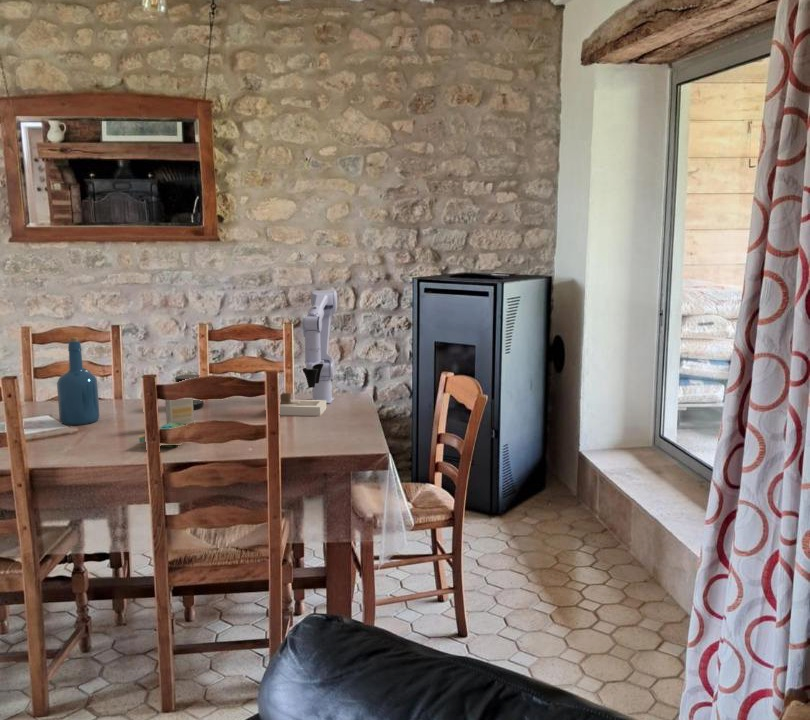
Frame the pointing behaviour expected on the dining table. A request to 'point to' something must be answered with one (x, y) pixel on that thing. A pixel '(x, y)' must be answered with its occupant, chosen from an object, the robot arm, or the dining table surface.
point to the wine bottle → (77, 390)
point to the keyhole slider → (285, 398)
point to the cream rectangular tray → (303, 408)
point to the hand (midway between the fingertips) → (313, 385)
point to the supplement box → (179, 411)
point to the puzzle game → (167, 426)
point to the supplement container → (196, 403)
